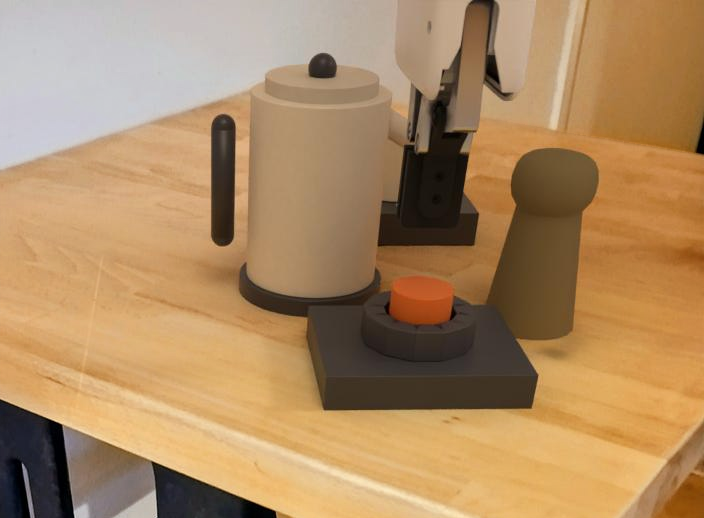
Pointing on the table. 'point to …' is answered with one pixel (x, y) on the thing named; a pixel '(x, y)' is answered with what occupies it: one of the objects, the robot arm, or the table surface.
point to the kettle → (308, 185)
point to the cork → (543, 243)
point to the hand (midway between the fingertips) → (426, 222)
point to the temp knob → (392, 172)
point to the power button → (421, 300)
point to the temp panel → (399, 235)
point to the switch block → (417, 359)
